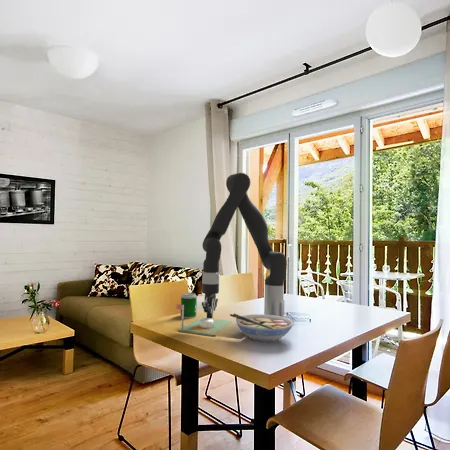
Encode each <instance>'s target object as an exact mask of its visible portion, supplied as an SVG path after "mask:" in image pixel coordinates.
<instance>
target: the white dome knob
mask: <svg viewBox="0 0 450 450" xmlns="http://www.w3.org/2000/svg"><path fill="white" fill-rule="evenodd" d="M213 319H214V318H213ZM213 319H211V318H207V317H204V318H203V319H201V320H200V325H199V327H200V328H203V329H212V328H214V327H213V326H214V324H213Z"/></svg>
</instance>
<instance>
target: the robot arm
mask: <svg viewBox="0 0 450 450" xmlns="http://www.w3.org/2000/svg"><path fill="white" fill-rule="evenodd" d="M225 186H226V188H227V191H228V193H229V195H227V196H228V197H227V198H226V200H225V202H224V203H223V205H222V206H221V208H220V209H219V210H218V212H217V213H216V215H215V218H214V219H213V222H212V225H211V226H210V229H209V230H208V232H207V233H206V236H205V238H204V239H203V241H202V249H203V251H204V252H205V259H204V261H203V263H202V265H203V266H202V268H203V269H202V270H203V271H202V278H201V279H202V282H201V285H202V286H201V293H202V294H204V298H203V299H204V301H203V302H201V307H202V309H203V312H204V313H205V314H206V318H211V319H214V318H213V315H214V314H213V313H214V312H215V311H216V307H217V305H218V301H219V298H217V294H219V293H220V288H219V287H220V273H219V272H220V260H221V256H222V255H221V254H222V243H221V238H222V237H223V236H225V234H226V233H227V231H228V228H229V226H230V223H231V222H232V219H233V216H234V215H235V212H236V211H237V209H238V210H239V214H240V215H241V218H242V220H243V221H244V224H245V227H246V228H247V230H248V232H249V234H250V236H251V238H252V240H253V243H254V245H255V247H256V249H257V253H258V254H259V258H260V260H261V261H260V262H261V263H262V265H263V267H264V269H267V270H268V271H269V275H268V277H266V278H265V280H264V299H263V301H264V303H263V306H264V307H263V310H264V311H263V315H274V316H280V317H285V300H284V296H285V293H284V291H285V289H284V288H285V287H284V286H285V280H286V276H287V257H286V255H285V254H284V253H283V252H280V251H274V249H273V248H272V246H271V244H270V242H269V230H268V229H269V228H268V224H267V221H266V219H265V217H264V215H263V213H262V212H261V210H260V209H259V208H258V207H257V206H256V205H255V203H254V202H253V201H252V200H251V198H250V197H249V195H248V193H247V192H248V190H249V189H250V186H251V179H250V176H249V175H248V174H247V173H245V172H237V173H233V174H231V175H229V176H228V177H227V178H226V181H225Z"/></svg>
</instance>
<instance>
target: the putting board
mask: <svg viewBox="0 0 450 450" xmlns="http://www.w3.org/2000/svg"><path fill="white" fill-rule="evenodd" d="M176 310H180V311H181V310H182V317H181V327H179V328H178V329H177V333H182V334H188V335H197V336H203V337H210V338H215V337H216V336H217V335H215V334H217V333H218V332H219V331H221V330H223V329H224V328H226V327H227V326H229V325H231V324H232V323H233V322H234V320H228V319H222V318H220V319H219V318H213V324H214V326H213V327H212V328H210V329H209V330H208V331H205V330H204V331H202V330H195V329H192V328H194V327H195V326H200V320H201V319H203V318H205V317H201V318H198V319H195V321H192V322H190V323H187V324H185V325H184V319H185V318H184V305H181V303H180V304H179V303H176Z"/></svg>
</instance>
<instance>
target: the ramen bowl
mask: <svg viewBox="0 0 450 450" xmlns="http://www.w3.org/2000/svg"><path fill="white" fill-rule="evenodd" d="M229 316H230V317H233V318H235V322H236V324H237V326H238V328H239V330H240V331H241V332H242V333H243V334H244V335H245V336H247V337H248V338H250V339H254V340H255V341H257V342H260V343H271V342H273V341H275V340H279V339H282V338H283V337H285V336H286V335H287V334H288V333H290V331H291V329H292V327H293V326H294V321H293V320H292V319H289V318H288V317H285V316H284V317H280V316H274V315H264V314H259V313H258V314H257V313H256V314H246V315H239V314H236V313H233V314H232V313H230V314H229Z"/></svg>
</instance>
